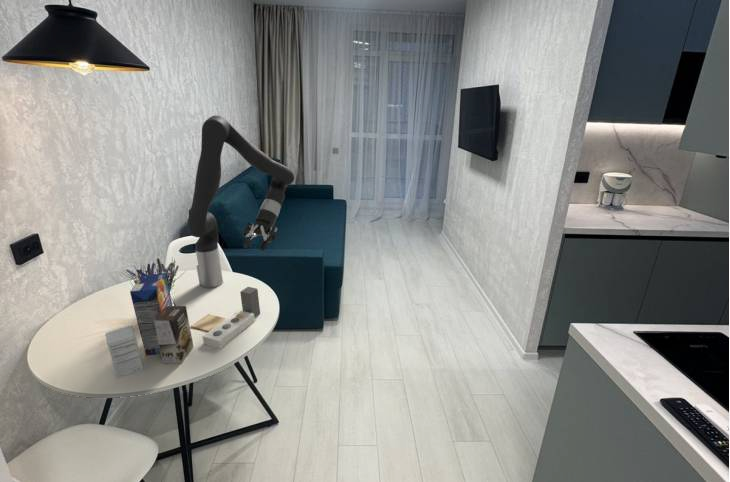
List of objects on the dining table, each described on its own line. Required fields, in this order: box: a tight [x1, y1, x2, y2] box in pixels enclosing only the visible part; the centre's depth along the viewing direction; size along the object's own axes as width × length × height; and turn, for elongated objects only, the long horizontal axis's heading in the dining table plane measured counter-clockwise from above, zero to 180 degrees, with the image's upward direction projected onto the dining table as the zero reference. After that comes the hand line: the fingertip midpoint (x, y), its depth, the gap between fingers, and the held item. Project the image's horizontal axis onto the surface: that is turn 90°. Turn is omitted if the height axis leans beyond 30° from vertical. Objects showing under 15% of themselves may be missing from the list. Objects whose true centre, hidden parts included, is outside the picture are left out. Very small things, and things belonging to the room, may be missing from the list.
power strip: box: [202, 309, 256, 349], centre depth 139 cm, size 8×18×4 cm, turn 158°
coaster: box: [190, 313, 227, 333], centre depth 145 cm, size 9×9×1 cm
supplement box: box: [105, 325, 144, 378], centre depth 119 cm, size 7×7×13 cm
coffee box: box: [154, 305, 194, 365], centre depth 124 cm, size 9×6×16 cm
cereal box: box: [129, 272, 173, 357], centre depth 129 cm, size 12×8×24 cm, turn 13°
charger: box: [239, 286, 261, 318], centre depth 148 cm, size 4×7×11 cm
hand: (253, 248), depth 150 cm, fingers open, 8 cm apart
